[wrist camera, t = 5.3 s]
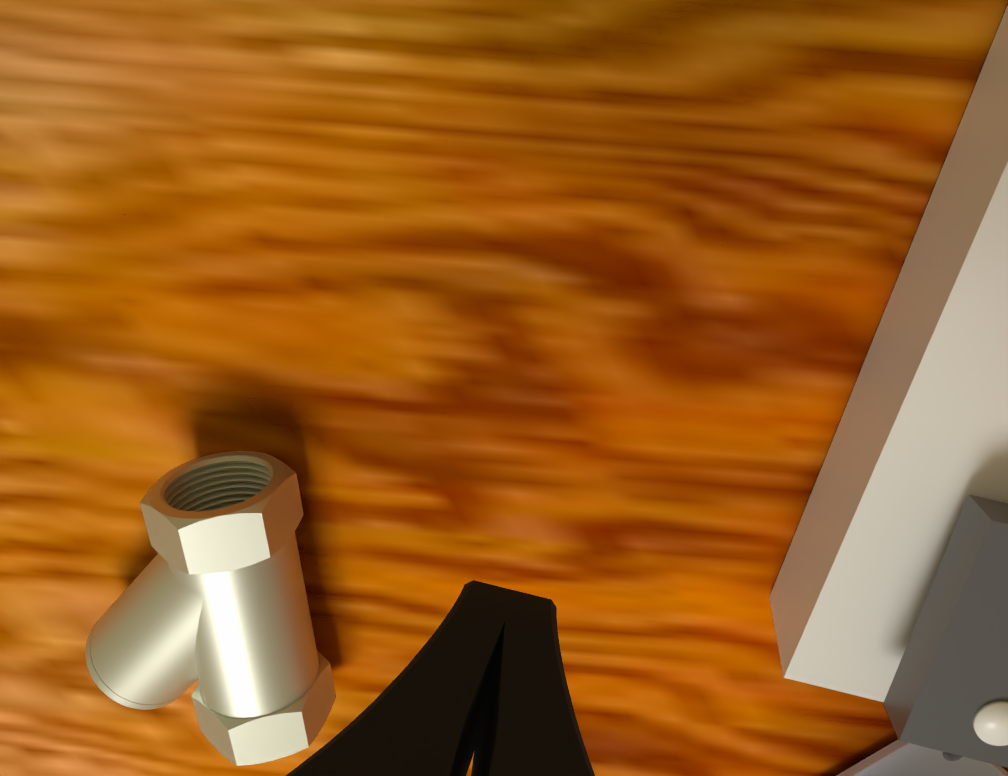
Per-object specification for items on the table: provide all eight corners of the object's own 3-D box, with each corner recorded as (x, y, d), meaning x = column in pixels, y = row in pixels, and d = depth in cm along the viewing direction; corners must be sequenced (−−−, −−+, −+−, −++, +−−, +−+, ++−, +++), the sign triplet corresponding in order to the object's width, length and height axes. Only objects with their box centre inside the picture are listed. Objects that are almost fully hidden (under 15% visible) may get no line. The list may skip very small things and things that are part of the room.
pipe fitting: (156, 652, 29) (348, 677, 28) (79, 744, 26) (294, 779, 24) (95, 436, 26) (311, 450, 24) (-3, 508, 22) (240, 530, 21)
